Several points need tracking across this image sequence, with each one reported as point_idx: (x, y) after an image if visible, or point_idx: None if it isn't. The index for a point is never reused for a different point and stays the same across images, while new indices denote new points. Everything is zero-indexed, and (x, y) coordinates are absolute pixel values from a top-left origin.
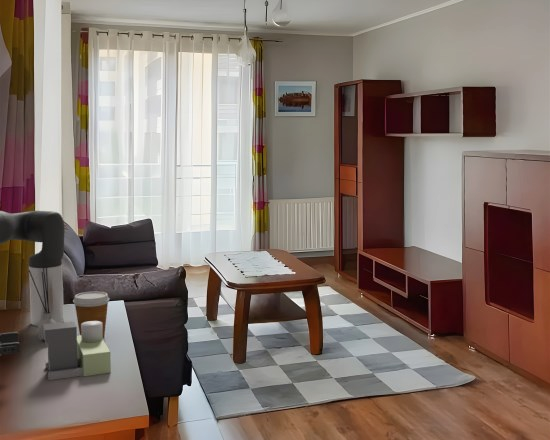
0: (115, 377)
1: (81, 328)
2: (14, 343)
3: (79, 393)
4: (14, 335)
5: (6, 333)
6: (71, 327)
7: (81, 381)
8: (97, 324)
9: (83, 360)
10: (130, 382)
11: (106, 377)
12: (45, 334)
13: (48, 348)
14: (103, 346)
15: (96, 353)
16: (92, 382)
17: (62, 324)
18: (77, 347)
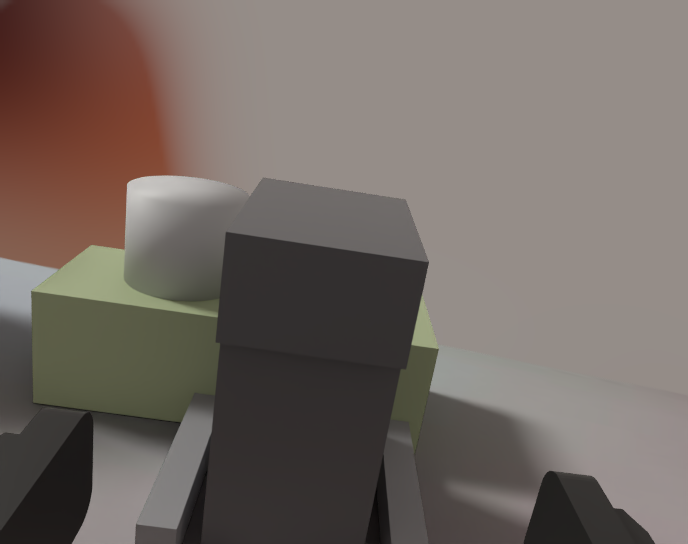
0: (466, 388)
1: (180, 226)
2: (613, 508)
3: (665, 521)
4: (75, 461)
5: (11, 499)
6: (408, 207)
7: (488, 477)
8: (225, 188)
9: (431, 377)
10: (534, 376)
11: (457, 405)
12: (418, 298)
13: (297, 409)
14: None
15: (429, 319)
16: (512, 451)
17: (308, 203)
18: (160, 344)
